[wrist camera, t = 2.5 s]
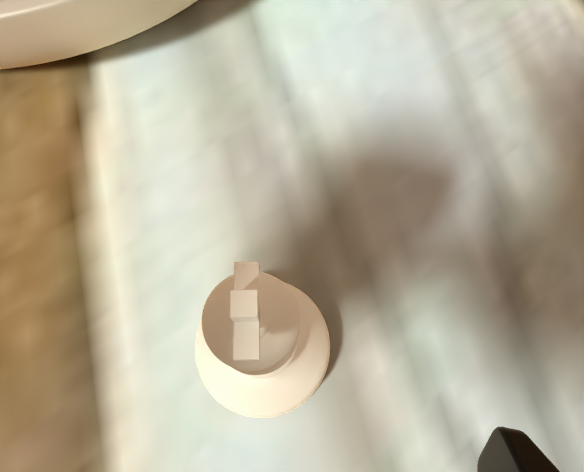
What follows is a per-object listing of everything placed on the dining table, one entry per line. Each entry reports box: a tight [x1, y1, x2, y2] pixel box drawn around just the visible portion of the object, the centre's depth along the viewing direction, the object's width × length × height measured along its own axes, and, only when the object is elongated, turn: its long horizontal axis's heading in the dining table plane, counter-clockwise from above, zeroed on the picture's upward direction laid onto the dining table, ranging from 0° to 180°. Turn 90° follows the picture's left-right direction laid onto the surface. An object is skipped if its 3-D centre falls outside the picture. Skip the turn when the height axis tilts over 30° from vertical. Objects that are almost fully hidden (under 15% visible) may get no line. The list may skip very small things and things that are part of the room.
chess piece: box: [195, 262, 330, 418], centre depth 12 cm, size 5×5×10 cm
